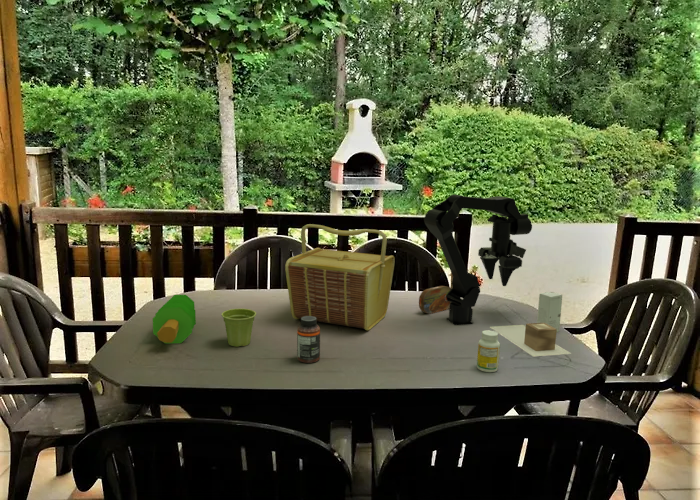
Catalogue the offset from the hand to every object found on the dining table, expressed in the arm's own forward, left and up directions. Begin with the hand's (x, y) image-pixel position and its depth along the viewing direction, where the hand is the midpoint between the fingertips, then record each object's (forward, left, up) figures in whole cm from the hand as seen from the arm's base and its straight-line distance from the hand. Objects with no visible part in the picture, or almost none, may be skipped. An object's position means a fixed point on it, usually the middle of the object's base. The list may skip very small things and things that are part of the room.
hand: (497, 282), depth 183 cm
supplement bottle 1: (-67, -25, -12) cm, 73 cm away
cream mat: (-1, -22, -12) cm, 25 cm away
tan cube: (-1, -28, -6) cm, 28 cm away
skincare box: (+10, -16, -12) cm, 22 cm away
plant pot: (-84, -10, -12) cm, 85 cm away
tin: (-17, +10, -12) cm, 23 cm away
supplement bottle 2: (-23, -39, -12) cm, 47 cm away
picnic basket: (-51, +7, -12) cm, 53 cm away
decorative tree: (-101, +1, -12) cm, 101 cm away
